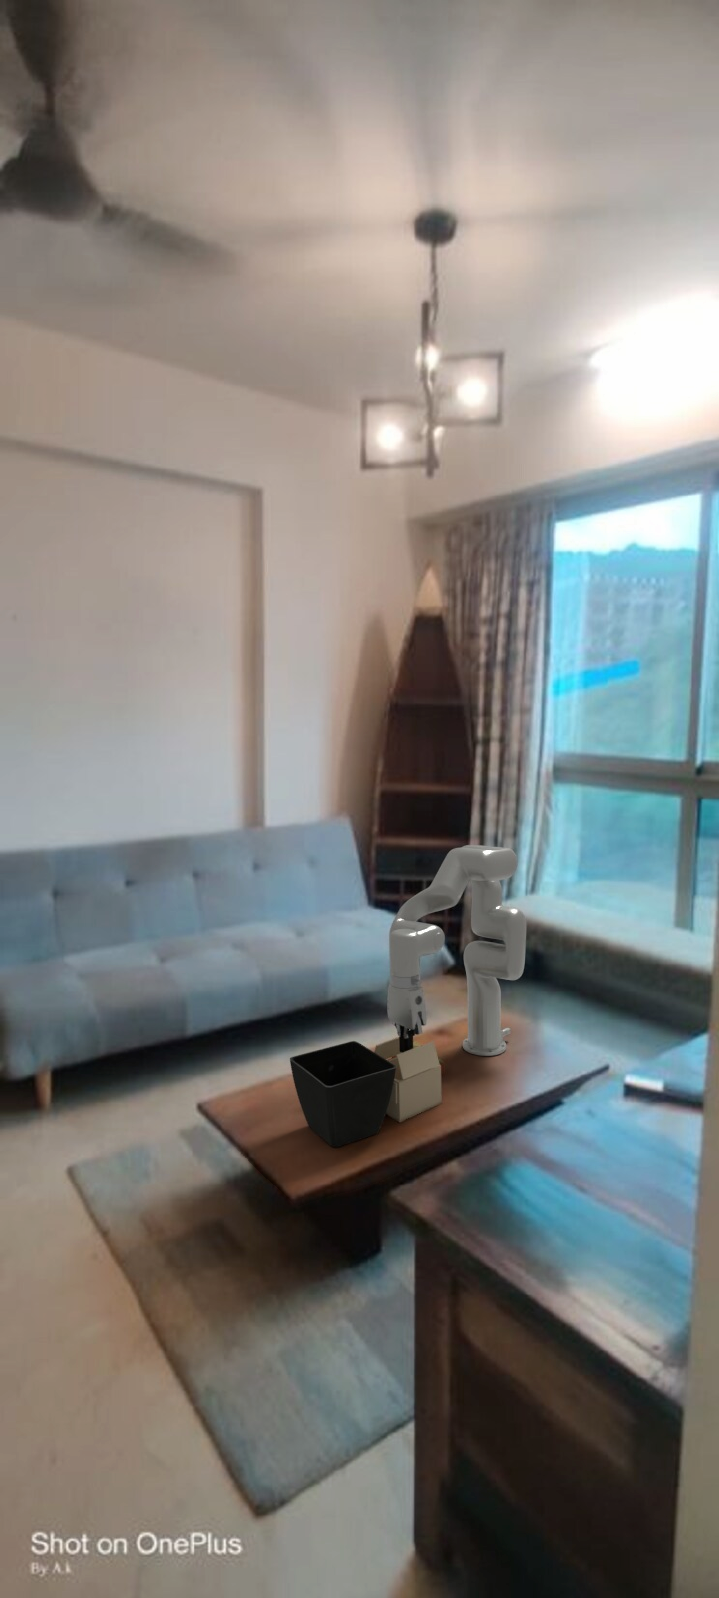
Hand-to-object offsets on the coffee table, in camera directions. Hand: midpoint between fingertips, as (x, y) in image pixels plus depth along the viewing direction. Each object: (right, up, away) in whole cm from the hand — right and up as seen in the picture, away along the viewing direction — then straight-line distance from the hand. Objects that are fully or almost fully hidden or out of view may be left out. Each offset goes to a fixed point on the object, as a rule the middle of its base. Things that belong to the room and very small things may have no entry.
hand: (406, 1051), depth 197 cm
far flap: (-3, -1, +4) cm, 5 cm away
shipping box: (0, -14, +2) cm, 14 cm away
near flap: (+3, -1, -3) cm, 4 cm away
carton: (+5, -12, +23) cm, 27 cm away
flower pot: (-15, -16, -9) cm, 24 cm away
